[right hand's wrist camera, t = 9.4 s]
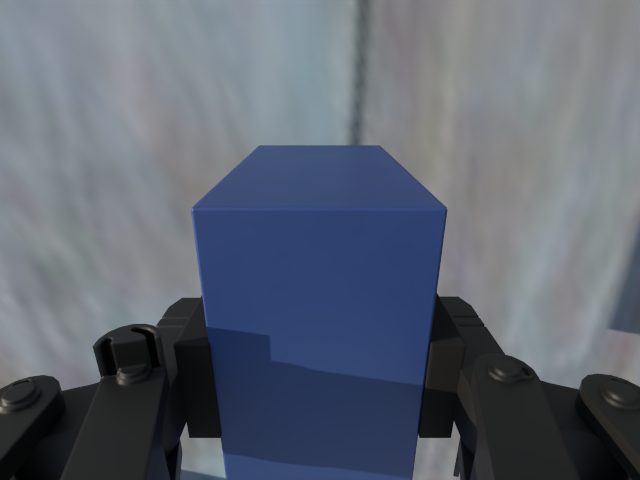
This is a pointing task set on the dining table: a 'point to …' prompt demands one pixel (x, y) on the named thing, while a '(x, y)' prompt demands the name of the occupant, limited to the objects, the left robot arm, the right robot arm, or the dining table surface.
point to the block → (319, 311)
